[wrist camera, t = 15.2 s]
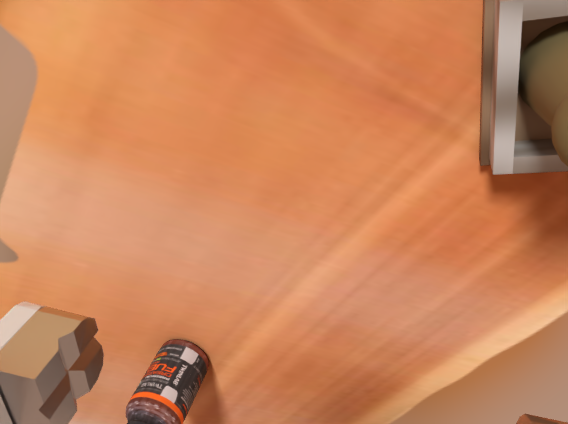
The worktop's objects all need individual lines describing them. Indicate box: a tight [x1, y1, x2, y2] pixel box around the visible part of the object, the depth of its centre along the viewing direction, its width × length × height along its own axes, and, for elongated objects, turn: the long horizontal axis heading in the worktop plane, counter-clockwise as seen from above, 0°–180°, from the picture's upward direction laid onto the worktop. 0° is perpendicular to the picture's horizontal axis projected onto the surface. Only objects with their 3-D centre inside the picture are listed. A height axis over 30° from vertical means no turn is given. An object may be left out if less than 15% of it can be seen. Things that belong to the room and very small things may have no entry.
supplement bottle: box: [126, 339, 209, 424], centre depth 52 cm, size 6×6×11 cm
